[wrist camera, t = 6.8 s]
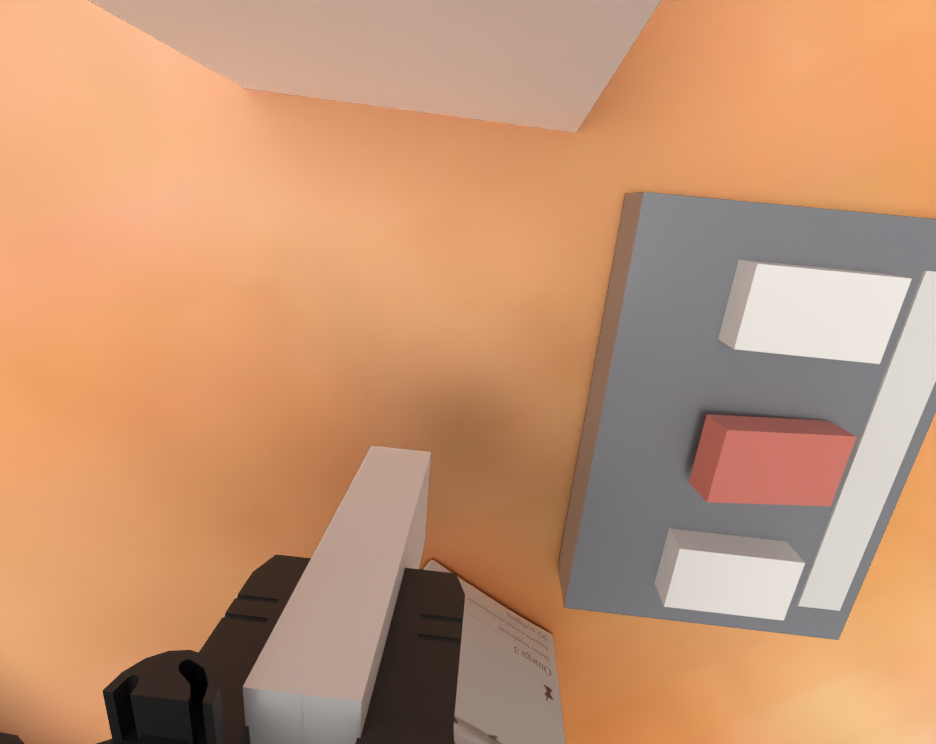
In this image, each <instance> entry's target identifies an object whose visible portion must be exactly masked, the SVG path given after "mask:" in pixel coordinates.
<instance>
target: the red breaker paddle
mask: <svg viewBox="0 0 936 744" xmlns="http://www.w3.org/2000/svg"><path fill="white" fill-rule="evenodd" d="M856 438H857V436H855V435H853V434H852V433H850V432H848V431H846V430H844V429H843V428H841V427H839V426H837V425H835V424H834V423H832V422H830V421H825V420H806V419H787V418H768V417H749V416H730V415H711V414H707V416H706V419H705V423H704V427H703V431H702V434H701V438H700V442H699V446H698V449H697V453H696V457H695V461H694V464H693V468H692V472H691V476H690V479H689V483H690V484H691V486H692V487H693V488H694V489H695V490H696V491H697V492H698V493H699V494H700V495H701V496H702V497H703V499H704V500H705V501H706V502H715V503H745V504H775V505H805V506H831V504H832V501H833V499H834V496H835V494H836V491H837V488H838V486H839V483H840V480H841V478H842V475H843V472H844V470H845V467H846V464H847V462H848V459H849V456H850V454H851V451H852V449H853V446H854V443H855V441H856Z"/></svg>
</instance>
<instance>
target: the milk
mask: <svg viewBox="0 0 936 744" xmlns="http://www.w3.org/2000/svg"><path fill="white" fill-rule="evenodd" d="M88 1H90V2H92V3H94V4H95V5H97V6H99V7H101V8H103V9H104V10H106V11H108V12H110V13H111V14H113V15H115V16H117V17H118V18H120V19H122V20H124V21H126V22H127V23H129V24H131V25H133V26H134V27H136V28H138V29H140V30H141V31H143V32H145V33H147V34H149V35H150V36H152V37H154V38H156V39H157V40H159V41H161V42H163V43H164V44H166V45H168V46H170V47H172V48H173V49H175V50H177V51H179V52H180V53H182V54H184V55H186V56H187V57H189V58H191V59H193V60H195V61H196V62H198V63H200V64H202V65H203V66H205V67H207V68H209V69H210V70H212V71H214V72H216V73H217V74H219V75H221V76H223V77H225V78H226V79H228V80H230V81H232V82H233V83H235V84H237V85H239V86H240V87H242V88H245V89H253V90H260V91H268V92H275V93H283V94H290V95H298V96H305V97H312V98H320V99H327V100H335V101H342V102H350V103H357V104H365V105H372V106H380V107H387V108H394V109H402V110H409V111H417V112H424V113H432V114H439V115H447V116H454V117H462V118H469V119H477V120H484V121H491V122H499V123H506V124H514V125H521V126H529V127H536V128H544V129H551V130H559V131H566V132H574V133H577V131H578V129H579V128H580V126H581V125H582V123H583V122H584V120H585V119H586V117H587V115H588V114H589V112H590V111H591V109H592V108H593V106H594V105H595V103H596V101H597V100H598V98H599V97H600V95H601V94H602V92H603V90H604V89H605V87H606V86H607V84H608V83H609V81H610V80H611V78H612V76H613V75H614V73H615V72H616V70H617V69H618V67H619V66H620V64H621V62H622V61H623V59H624V58H625V56H626V55H627V53H628V51H629V50H630V48H631V47H632V45H633V44H634V42H635V41H636V39H637V37H638V36H639V34H640V33H641V31H642V30H643V28H644V27H645V25H646V23H647V22H648V20H649V19H650V17H651V16H652V14H653V13H654V11H655V9H656V8H657V6H658V5H659V3H660V2H661V0H88Z"/></svg>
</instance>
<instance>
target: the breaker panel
mask: <svg viewBox="0 0 936 744" xmlns="http://www.w3.org/2000/svg"><path fill="white" fill-rule="evenodd" d="M935 412H936V219H928V218H917V217H907V216H896V215H885V214H875V213H864V212H853V211H842V210H832V209H821V208H810V207H799V206H789V205H778V204H767V203H757V202H746V201H735V200H724V199H714V198H703V197H692V196H681V195H671V194H660V193H649V192H638V193H626V194H625V198H624V203H623V209H622V214H621V220H620V225H619V231H618V236H617V242H616V248H615V253H614V259H613V264H612V270H611V275H610V281H609V286H608V292H607V297H606V303H605V309H604V314H603V320H602V325H601V331H600V336H599V342H598V347H597V353H596V358H595V364H594V370H593V375H592V381H591V386H590V392H589V397H588V403H587V408H586V414H585V419H584V425H583V431H582V436H581V442H580V447H579V453H578V458H577V464H576V469H575V475H574V480H573V486H572V492H571V497H570V503H569V508H568V514H567V519H566V525H565V530H564V536H563V541H562V547H561V553H560V558H559V564H558V571H559V578H560V584H561V590H562V596H563V603H564V608H571V609H579V610H588V611H596V612H605V613H613V614H622V615H630V616H639V617H647V618H656V619H665V620H673V621H682V622H690V623H699V624H707V625H716V626H724V627H733V628H741V629H750V630H758V631H767V632H775V633H784V634H793V635H801V636H810V637H818V638H827V639H835V640H839V637H840V635H841V633H842V630H843V628H844V626H845V623H846V621H847V619H848V616H849V614H850V612H851V609H852V607H853V605H854V602H855V600H856V598H857V595H858V593H859V591H860V588H861V586H862V584H863V581H864V579H865V577H866V574H867V572H868V569H869V567H870V565H871V562H872V560H873V558H874V555H875V553H876V551H877V548H878V546H879V544H880V541H881V539H882V537H883V534H884V532H885V530H886V527H887V525H888V523H889V520H890V518H891V516H892V513H893V511H894V509H895V506H896V504H897V502H898V499H899V497H900V494H901V492H902V490H903V487H904V485H905V483H906V480H907V478H908V476H909V473H910V471H911V469H912V466H913V464H914V462H915V459H916V457H917V455H918V452H919V450H920V448H921V445H922V443H923V441H924V438H925V436H926V434H927V431H928V429H929V427H930V424H931V422H932V419H933V417H934V415H935ZM707 414H711V415H730V416H749V417H768V418H787V419H806V420H825V421H830V422H832V423H834V424H835V425H837V426H839V427H841V428H843V429H844V430H846V431H848V432H850V433H852V434H853V435H855V436H857V438H856V441H855V443H854V446H853V449H852V451H851V454H850V456H849V459H848V462H847V464H846V467H845V470H844V472H843V475H842V478H841V480H840V483H839V486H838V488H837V491H836V494H835V496H834V499H833V501H832V504H831V506H805V505H775V504H745V503H715V502H706V501H705V500H704V499H703V497H702V496H701V495H700V494H699V493H698V492H697V491H696V490H695V489H694V488H693V487H692V486H691V484H690V483H689V479H690V476H691V472H692V468H693V464H694V461H695V457H696V453H697V449H698V446H699V442H700V438H701V434H702V431H703V427H704V423H705V419H706V416H707Z"/></svg>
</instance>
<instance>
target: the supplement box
mask: <svg viewBox="0 0 936 744" xmlns="http://www.w3.org/2000/svg"><path fill="white" fill-rule="evenodd" d="M423 570H430V571H439V572H447V573H452V572H450V571H449V570H447V569H446V568H445V567H443V566H442V565H440V564H439V563H437V562H436V561H434V560H431V561H430V562H429V563H428V564H427V565H426V567H425V568H424V569H423ZM458 579H459V581H460V583H461V586H462V588H463V591H464V593H465V604H464V615H463V626H462V637H461V648H460V659H459V671H458V682H457V693H456V704H455V715H454V742H455V744H566V743H565V734H564V725H563V716H562V707H561V698H560V689H559V679H558V672H557V664H556V655H555V645H554V638H553V635H552V634H550V633H549V632H547V631H545V630H543V629H541V628H539V627H538V626H536V625H534V624H532V623H531V622H529V621H527V620H525V619H524V618H522V617H520V616H519V615H517V614H515V613H514V612H512V611H510V610H509V609H507V608H506V607H504V606H502V605H501V604H499V603H498V602H496V601H495V600H493V599H491V598H490V597H488V596H487V595H485V594H484V593H482V592H481V591H479V590H478V589H476V588H475V587H473V586H472V585H470V584H468V583H467V582H465V581H464V580H462V579H461V578H459V577H458Z"/></svg>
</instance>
